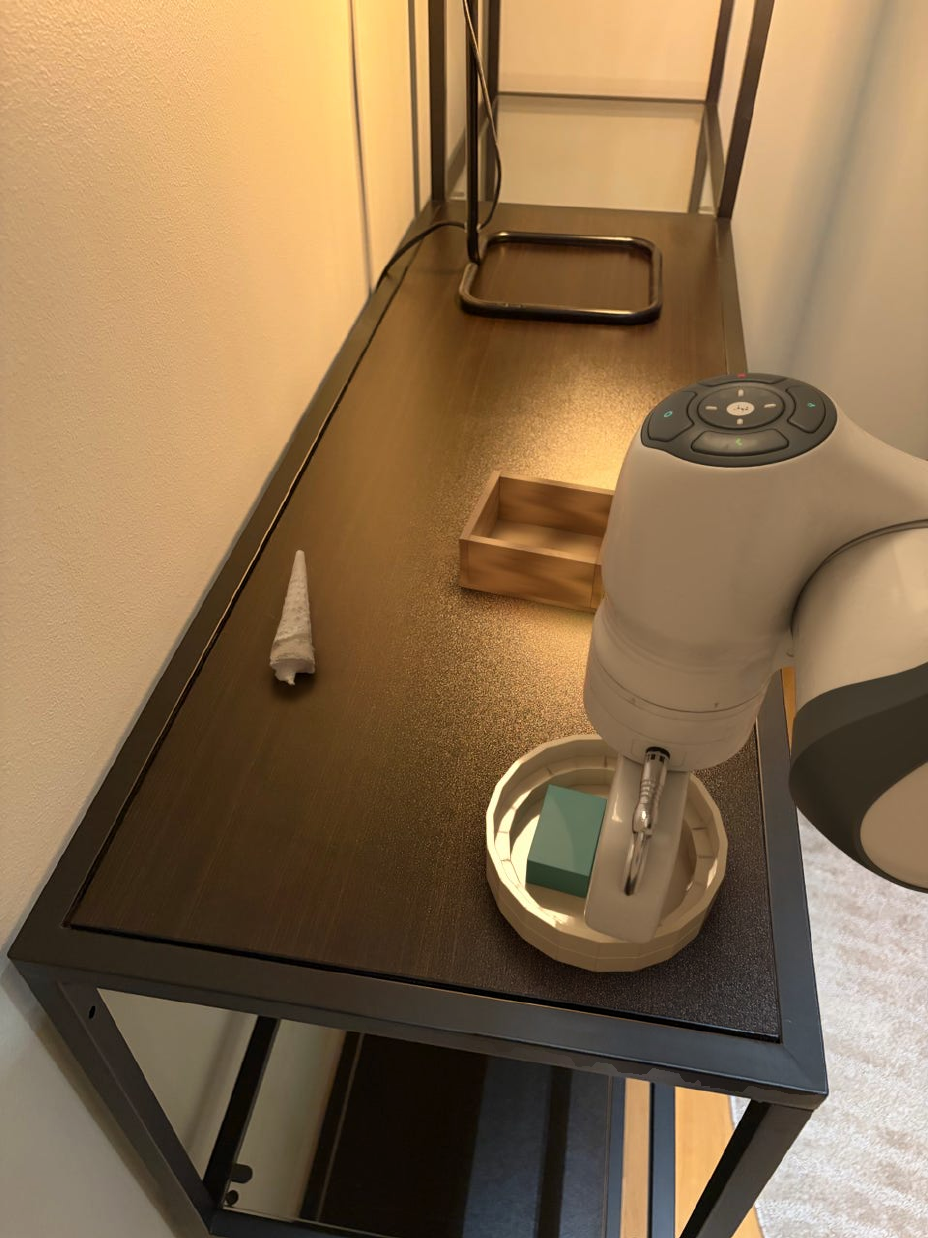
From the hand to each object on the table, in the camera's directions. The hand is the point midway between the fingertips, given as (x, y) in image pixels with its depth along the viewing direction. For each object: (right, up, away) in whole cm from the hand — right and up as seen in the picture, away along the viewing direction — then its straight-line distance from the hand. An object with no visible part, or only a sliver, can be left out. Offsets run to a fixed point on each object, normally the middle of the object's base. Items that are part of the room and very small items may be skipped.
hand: (635, 829), depth 54 cm
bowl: (-2, -3, +4) cm, 5 cm away
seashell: (-24, +11, +20) cm, 33 cm away
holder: (-3, +18, +26) cm, 32 cm away
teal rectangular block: (-4, -2, +4) cm, 6 cm away
